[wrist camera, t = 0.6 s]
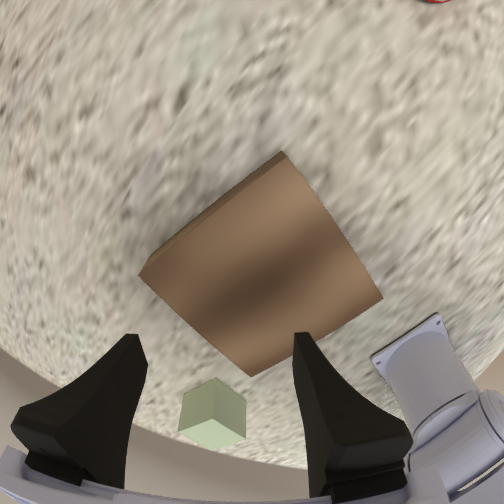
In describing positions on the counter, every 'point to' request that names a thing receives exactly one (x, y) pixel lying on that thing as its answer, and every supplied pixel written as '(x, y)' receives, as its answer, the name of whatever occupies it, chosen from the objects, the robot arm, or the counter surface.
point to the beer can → (438, 1)
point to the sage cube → (213, 415)
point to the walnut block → (262, 269)
